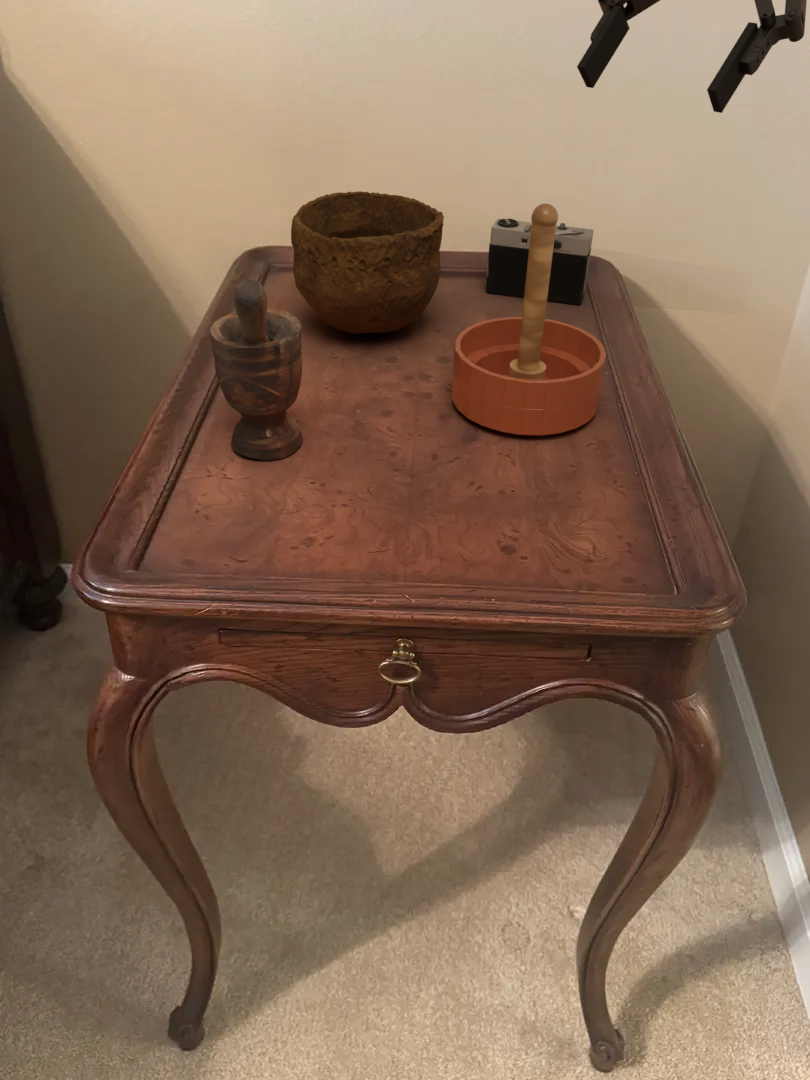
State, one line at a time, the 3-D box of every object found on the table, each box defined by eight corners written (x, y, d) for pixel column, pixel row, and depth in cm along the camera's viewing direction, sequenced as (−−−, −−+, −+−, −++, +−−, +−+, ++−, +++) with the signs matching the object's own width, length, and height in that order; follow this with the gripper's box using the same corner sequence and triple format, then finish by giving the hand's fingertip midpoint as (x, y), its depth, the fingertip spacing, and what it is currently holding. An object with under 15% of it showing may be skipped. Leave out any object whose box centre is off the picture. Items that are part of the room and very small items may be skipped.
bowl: (453, 355, 109) (460, 234, 100) (301, 364, 107) (294, 240, 98) (427, 297, 124) (431, 186, 115) (292, 303, 122) (285, 190, 113)
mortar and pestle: (332, 468, 89) (325, 274, 76) (251, 490, 85) (229, 290, 73) (289, 417, 97) (276, 233, 85) (213, 434, 93) (188, 246, 81)
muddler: (544, 392, 101) (569, 200, 88) (539, 409, 98) (563, 212, 85) (510, 387, 101) (529, 196, 88) (503, 403, 98) (522, 208, 85)
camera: (594, 286, 128) (604, 217, 121) (577, 312, 121) (586, 240, 115) (504, 271, 132) (508, 203, 126) (482, 294, 126) (486, 224, 120)
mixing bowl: (603, 383, 104) (613, 327, 100) (586, 452, 92) (596, 392, 88) (469, 363, 108) (473, 309, 104) (435, 427, 95) (438, 368, 91)
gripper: (919, -77, 74) (783, 142, 75) (664, -89, 88) (552, 95, 89) (917, -160, 68) (769, 80, 69) (643, -159, 82) (522, 40, 83)
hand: (646, 89), depth 79 cm, fingers open, 13 cm apart
